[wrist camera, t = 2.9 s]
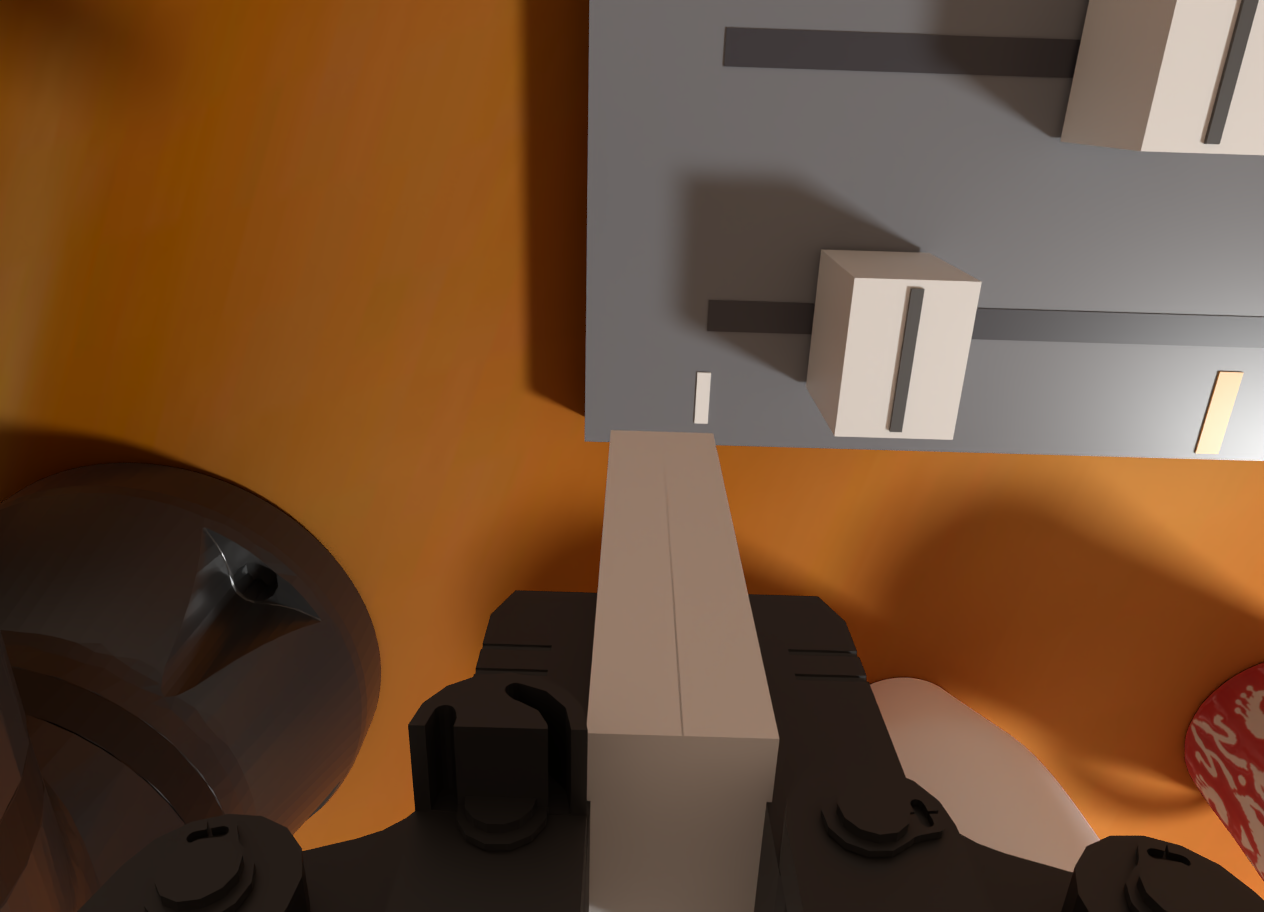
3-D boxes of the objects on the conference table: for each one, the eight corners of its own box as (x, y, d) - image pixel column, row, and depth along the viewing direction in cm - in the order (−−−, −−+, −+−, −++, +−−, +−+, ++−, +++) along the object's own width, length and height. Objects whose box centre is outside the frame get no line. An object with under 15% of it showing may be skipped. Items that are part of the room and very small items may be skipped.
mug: (943, 594, 31) (1124, 881, 20) (1051, 748, 34) (1260, 1072, 23) (674, 750, 34) (703, 1079, 23) (796, 881, 37) (874, 1227, 26)
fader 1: (805, 387, 26) (835, 437, 22) (821, 249, 24) (856, 278, 21) (907, 390, 26) (954, 441, 22) (929, 253, 24) (983, 282, 21)
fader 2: (1060, 141, 23) (1143, 151, 19) (1095, -31, 22) (1193, -56, 18) (1172, 144, 23) (1277, 155, 19) (1215, -26, 22) (1338, -51, 18)
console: (588, 418, 29) (584, 442, 27) (594, -124, 23) (590, -143, 21) (1378, 441, 29) (1431, 466, 27) (1582, -88, 23) (1667, -105, 21)
